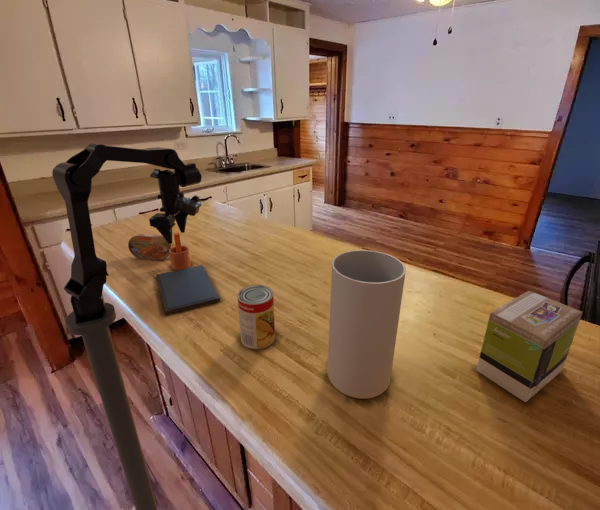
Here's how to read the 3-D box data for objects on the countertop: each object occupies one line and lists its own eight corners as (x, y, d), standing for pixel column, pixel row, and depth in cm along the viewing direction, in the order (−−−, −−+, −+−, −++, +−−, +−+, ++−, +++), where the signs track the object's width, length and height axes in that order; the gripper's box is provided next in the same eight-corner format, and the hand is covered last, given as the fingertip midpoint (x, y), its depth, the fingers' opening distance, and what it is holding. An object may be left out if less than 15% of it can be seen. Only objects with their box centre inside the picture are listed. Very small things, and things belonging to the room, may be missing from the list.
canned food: (280, 332, 80) (279, 289, 75) (264, 353, 74) (262, 307, 69) (252, 323, 83) (249, 281, 78) (234, 343, 76) (230, 298, 72)
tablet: (166, 315, 86) (165, 311, 86) (157, 277, 104) (156, 274, 104) (220, 301, 92) (219, 297, 92) (202, 268, 110) (202, 264, 110)
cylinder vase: (327, 399, 62) (333, 282, 53) (326, 352, 74) (330, 249, 64) (396, 402, 62) (414, 284, 52) (383, 354, 73) (396, 250, 63)
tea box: (512, 344, 76) (529, 288, 71) (562, 372, 69) (587, 311, 63) (473, 370, 69) (489, 310, 63) (525, 405, 61) (549, 340, 55)
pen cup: (173, 271, 108) (170, 254, 106) (170, 263, 113) (167, 247, 111) (192, 267, 111) (190, 251, 108) (189, 260, 116) (186, 244, 113)
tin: (130, 257, 117) (125, 235, 114) (135, 254, 120) (131, 232, 117) (170, 261, 115) (166, 238, 112) (174, 257, 118) (171, 235, 115)
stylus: (178, 265, 111) (174, 235, 106) (178, 263, 112) (173, 233, 108) (183, 264, 111) (179, 234, 107) (183, 262, 113) (178, 232, 108)
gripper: (182, 199, 93) (189, 251, 99) (206, 183, 110) (211, 228, 116) (143, 198, 94) (153, 249, 100) (173, 183, 111) (180, 227, 117)
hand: (176, 237), depth 108 cm, fingers open, 9 cm apart
